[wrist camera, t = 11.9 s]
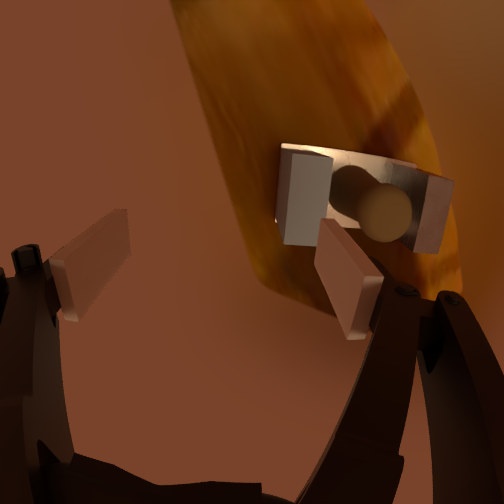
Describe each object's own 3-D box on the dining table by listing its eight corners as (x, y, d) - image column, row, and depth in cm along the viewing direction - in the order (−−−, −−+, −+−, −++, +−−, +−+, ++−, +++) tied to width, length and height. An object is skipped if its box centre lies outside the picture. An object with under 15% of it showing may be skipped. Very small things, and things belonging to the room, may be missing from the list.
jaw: (281, 147, 30) (292, 153, 23) (313, 151, 30) (333, 158, 23) (275, 217, 33) (283, 244, 26) (305, 219, 34) (321, 246, 26)
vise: (280, 142, 31) (293, 147, 23) (412, 162, 32) (455, 176, 23) (274, 219, 35) (283, 249, 26) (400, 229, 35) (436, 258, 27)
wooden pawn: (382, 199, 33) (430, 230, 22) (341, 224, 34) (376, 264, 24) (360, 155, 31) (408, 169, 20) (317, 181, 32) (348, 205, 22)
